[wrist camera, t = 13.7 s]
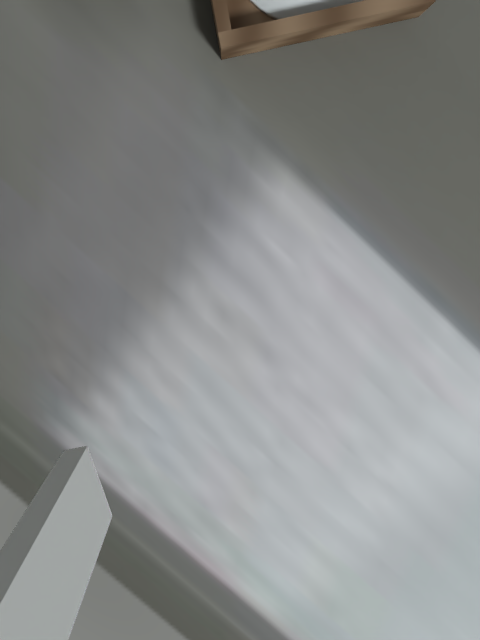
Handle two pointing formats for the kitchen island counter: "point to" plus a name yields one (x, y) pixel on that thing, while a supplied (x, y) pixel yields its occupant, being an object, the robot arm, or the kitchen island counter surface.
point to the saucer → (295, 6)
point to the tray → (301, 23)
